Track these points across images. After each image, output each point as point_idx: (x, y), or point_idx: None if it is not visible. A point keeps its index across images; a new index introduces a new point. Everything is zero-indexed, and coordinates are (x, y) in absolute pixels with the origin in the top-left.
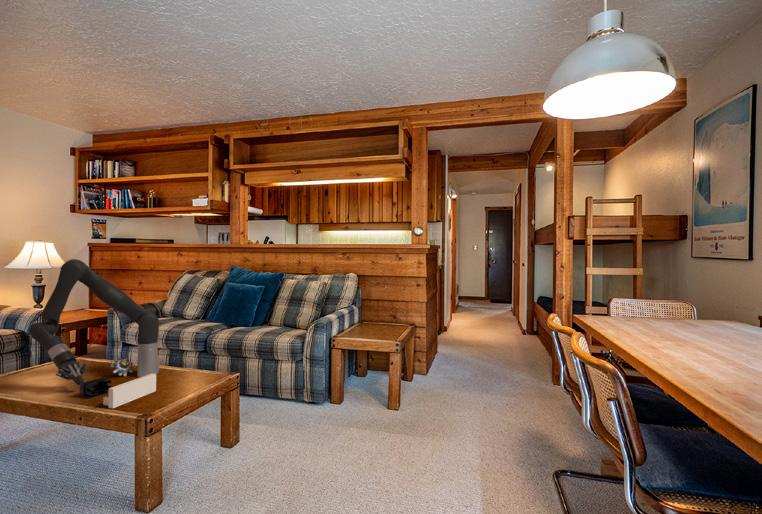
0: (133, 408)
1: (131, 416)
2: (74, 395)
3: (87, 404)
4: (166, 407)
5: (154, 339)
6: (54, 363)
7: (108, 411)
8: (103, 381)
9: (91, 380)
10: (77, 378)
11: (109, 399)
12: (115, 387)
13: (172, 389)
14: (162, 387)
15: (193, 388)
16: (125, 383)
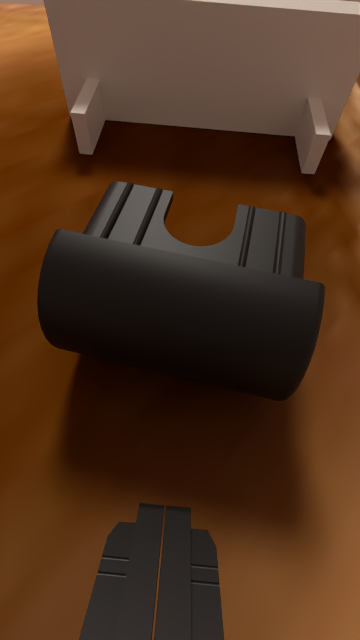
0: None
1: None
2: (258, 510)
3: (349, 241)
4: None
5: None
6: None
7: (356, 120)
8: (167, 209)
9: (227, 272)
10: (190, 614)
11: (349, 89)
12: (350, 5)
13: (52, 69)
14: (19, 103)
15: (39, 31)
16: (270, 2)
